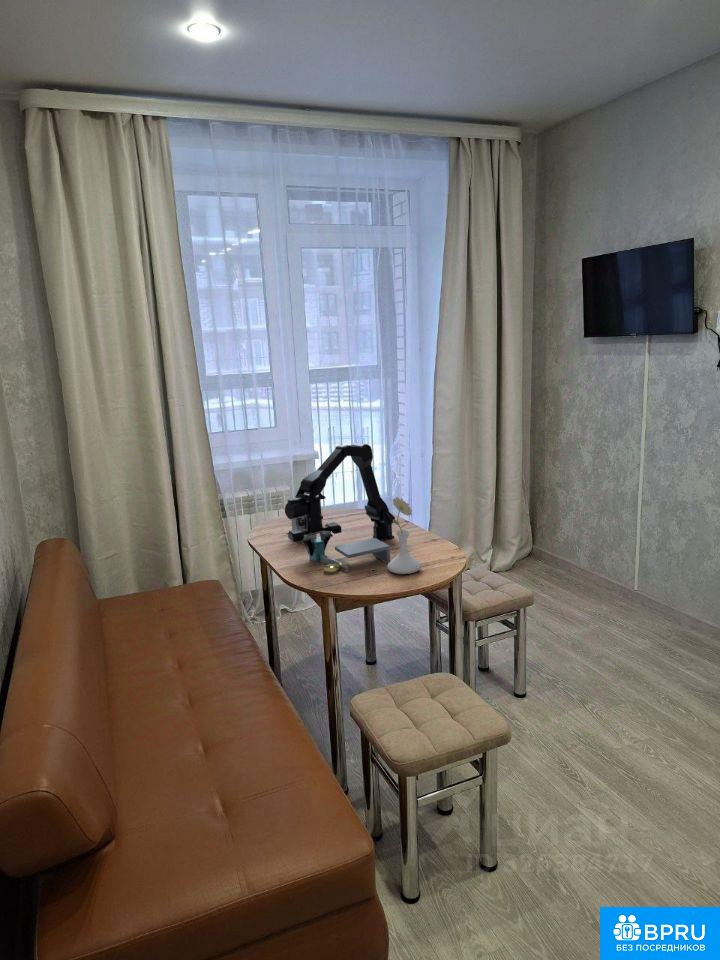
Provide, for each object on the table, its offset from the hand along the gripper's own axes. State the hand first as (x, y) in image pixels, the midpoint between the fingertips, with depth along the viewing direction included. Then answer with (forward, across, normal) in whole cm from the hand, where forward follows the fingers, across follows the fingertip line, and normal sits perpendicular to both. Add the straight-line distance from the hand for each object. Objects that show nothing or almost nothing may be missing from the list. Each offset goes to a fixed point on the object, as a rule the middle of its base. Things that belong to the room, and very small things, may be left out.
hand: (316, 554), depth 238 cm
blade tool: (+2, -2, +8) cm, 9 cm away
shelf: (+2, -12, +14) cm, 18 cm away
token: (+2, +1, +15) cm, 15 cm away
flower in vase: (+2, -20, +28) cm, 34 cm away
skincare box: (+2, -6, -26) cm, 27 cm away
